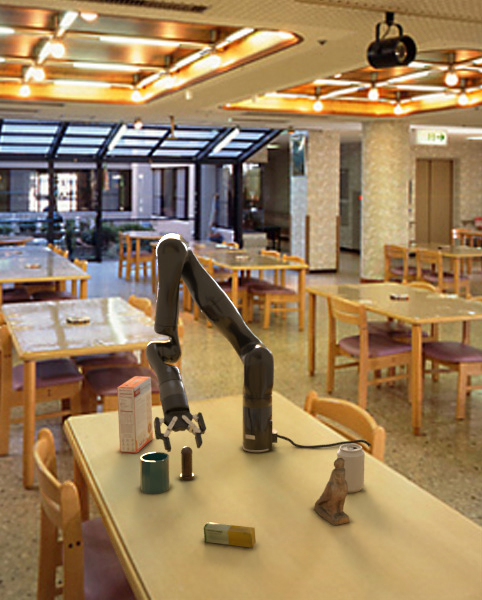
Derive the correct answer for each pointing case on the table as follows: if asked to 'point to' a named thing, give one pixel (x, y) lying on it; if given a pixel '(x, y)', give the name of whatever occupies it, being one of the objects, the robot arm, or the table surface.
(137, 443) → the cracker box
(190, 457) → the game pawn
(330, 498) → the worn brown figurine
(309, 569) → the table surface
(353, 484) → the can
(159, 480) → the cup
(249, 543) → the medication box
